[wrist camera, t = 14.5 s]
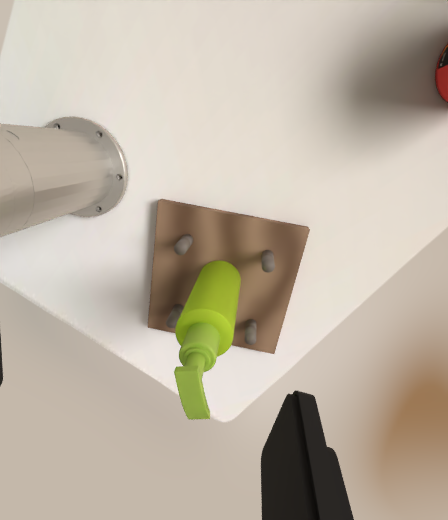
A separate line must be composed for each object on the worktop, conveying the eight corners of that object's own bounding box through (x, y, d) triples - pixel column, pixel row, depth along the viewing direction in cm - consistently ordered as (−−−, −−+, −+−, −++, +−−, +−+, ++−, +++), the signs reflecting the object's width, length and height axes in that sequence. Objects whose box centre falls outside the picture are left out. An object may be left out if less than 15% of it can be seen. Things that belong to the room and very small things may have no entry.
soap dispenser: (204, 306, 43) (164, 425, 25) (195, 262, 41) (143, 358, 22) (244, 302, 42) (233, 423, 24) (237, 258, 40) (219, 353, 21)
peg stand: (151, 322, 47) (137, 343, 42) (161, 198, 40) (147, 206, 35) (273, 347, 46) (275, 372, 41) (307, 226, 39) (315, 238, 34)
